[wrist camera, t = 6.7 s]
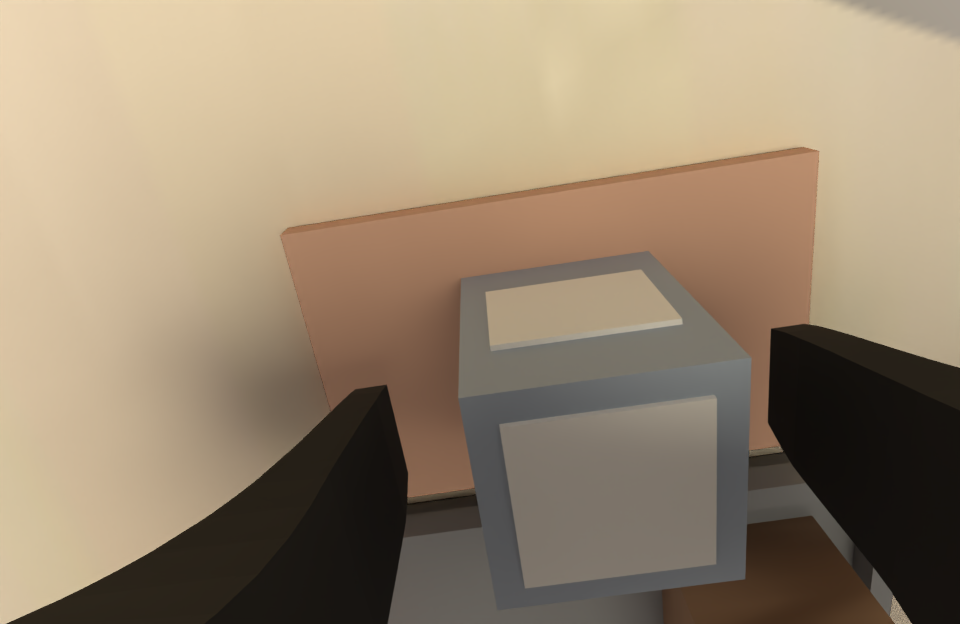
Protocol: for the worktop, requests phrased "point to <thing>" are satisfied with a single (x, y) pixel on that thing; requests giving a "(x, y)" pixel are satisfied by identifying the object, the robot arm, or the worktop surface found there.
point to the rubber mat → (541, 242)
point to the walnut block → (781, 584)
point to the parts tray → (606, 620)
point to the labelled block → (602, 431)
